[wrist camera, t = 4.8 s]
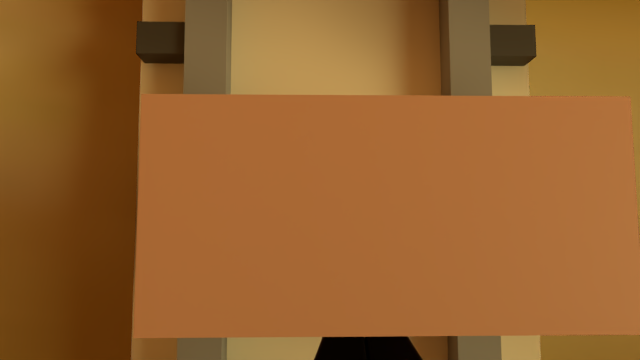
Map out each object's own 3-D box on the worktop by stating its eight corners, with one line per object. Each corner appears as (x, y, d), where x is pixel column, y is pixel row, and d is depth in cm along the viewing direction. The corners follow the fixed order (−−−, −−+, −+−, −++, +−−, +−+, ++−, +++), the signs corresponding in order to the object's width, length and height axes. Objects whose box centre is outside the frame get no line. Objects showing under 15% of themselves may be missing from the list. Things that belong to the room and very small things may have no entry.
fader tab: (441, 316, 15) (651, 419, 6) (234, 318, 14) (130, 424, 6) (437, 154, 15) (624, 21, 6) (236, 153, 15) (143, 17, 6)
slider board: (521, 582, 16) (571, 658, 13) (144, 590, 16) (108, 669, 13) (497, -56, 18) (535, -116, 15) (163, -61, 18) (135, -122, 15)
